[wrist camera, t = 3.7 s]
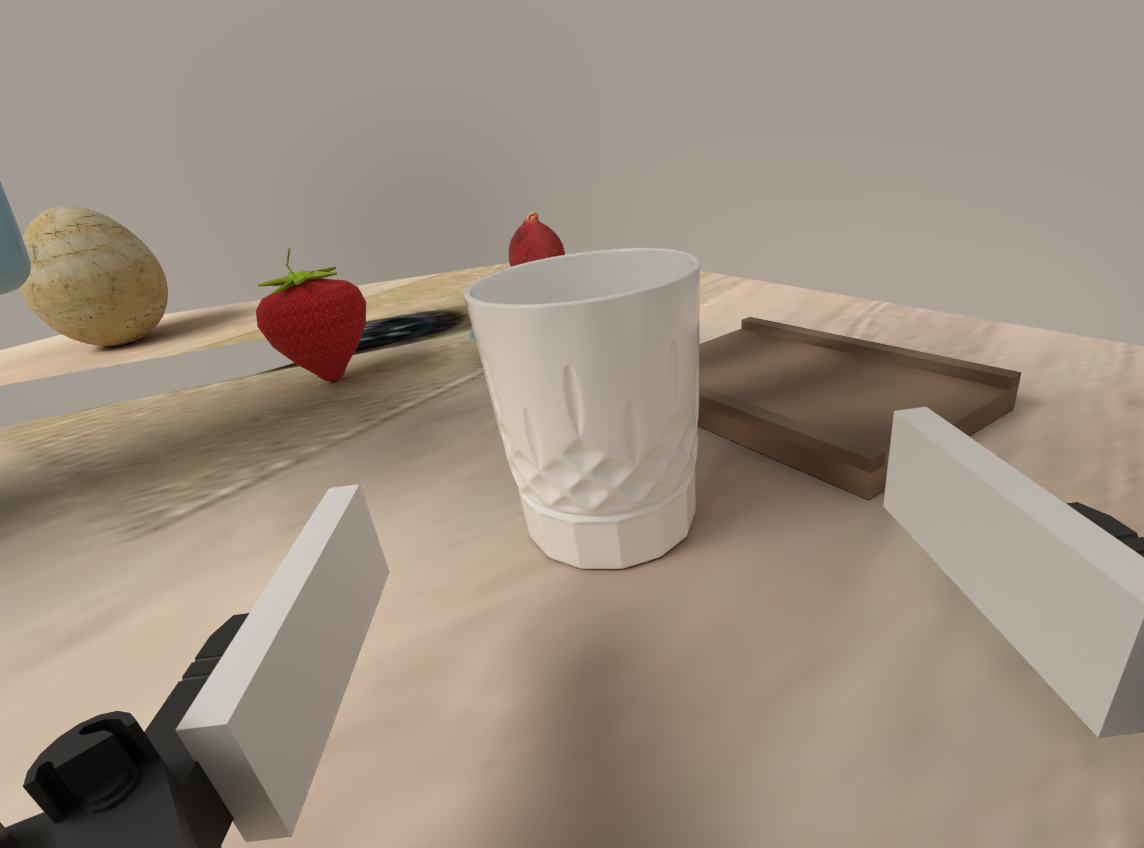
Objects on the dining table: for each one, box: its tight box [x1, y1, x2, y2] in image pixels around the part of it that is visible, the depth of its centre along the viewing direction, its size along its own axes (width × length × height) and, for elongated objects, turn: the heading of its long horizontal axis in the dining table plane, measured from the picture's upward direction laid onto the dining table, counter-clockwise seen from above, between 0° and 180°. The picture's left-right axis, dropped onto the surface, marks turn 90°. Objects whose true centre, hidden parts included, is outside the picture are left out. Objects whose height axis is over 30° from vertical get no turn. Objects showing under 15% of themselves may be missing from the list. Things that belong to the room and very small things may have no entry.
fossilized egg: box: [20, 206, 168, 346], centre depth 65 cm, size 13×13×15 cm
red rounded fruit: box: [509, 212, 565, 267], centre depth 61 cm, size 6×6×8 cm
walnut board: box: [697, 317, 1021, 500], centre depth 31 cm, size 16×11×2 cm
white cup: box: [463, 248, 700, 569], centre depth 22 cm, size 8×8×10 cm
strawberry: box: [256, 249, 366, 382], centre depth 43 cm, size 6×8×10 cm
